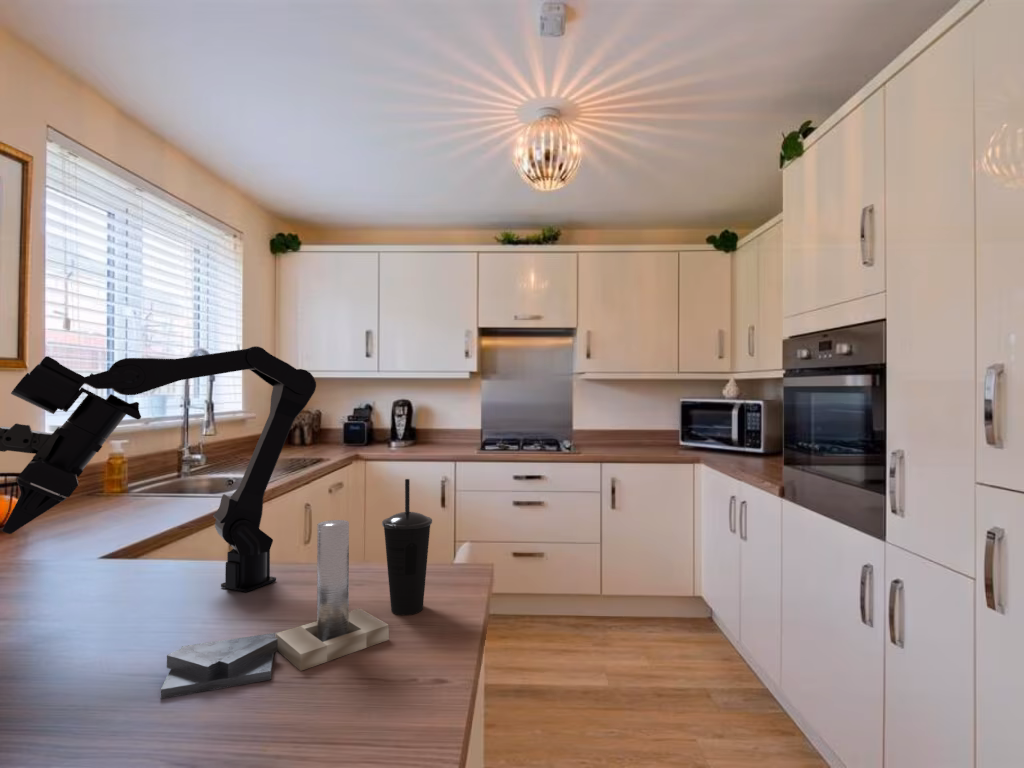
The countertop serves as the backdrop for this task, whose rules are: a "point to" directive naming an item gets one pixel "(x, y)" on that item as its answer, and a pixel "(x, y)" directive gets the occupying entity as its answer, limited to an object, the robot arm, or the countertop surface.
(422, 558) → the drinking cup
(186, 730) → the countertop surface
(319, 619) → the axle
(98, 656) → the countertop surface
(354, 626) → the beige rectangular frame
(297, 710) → the countertop surface
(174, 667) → the v block
